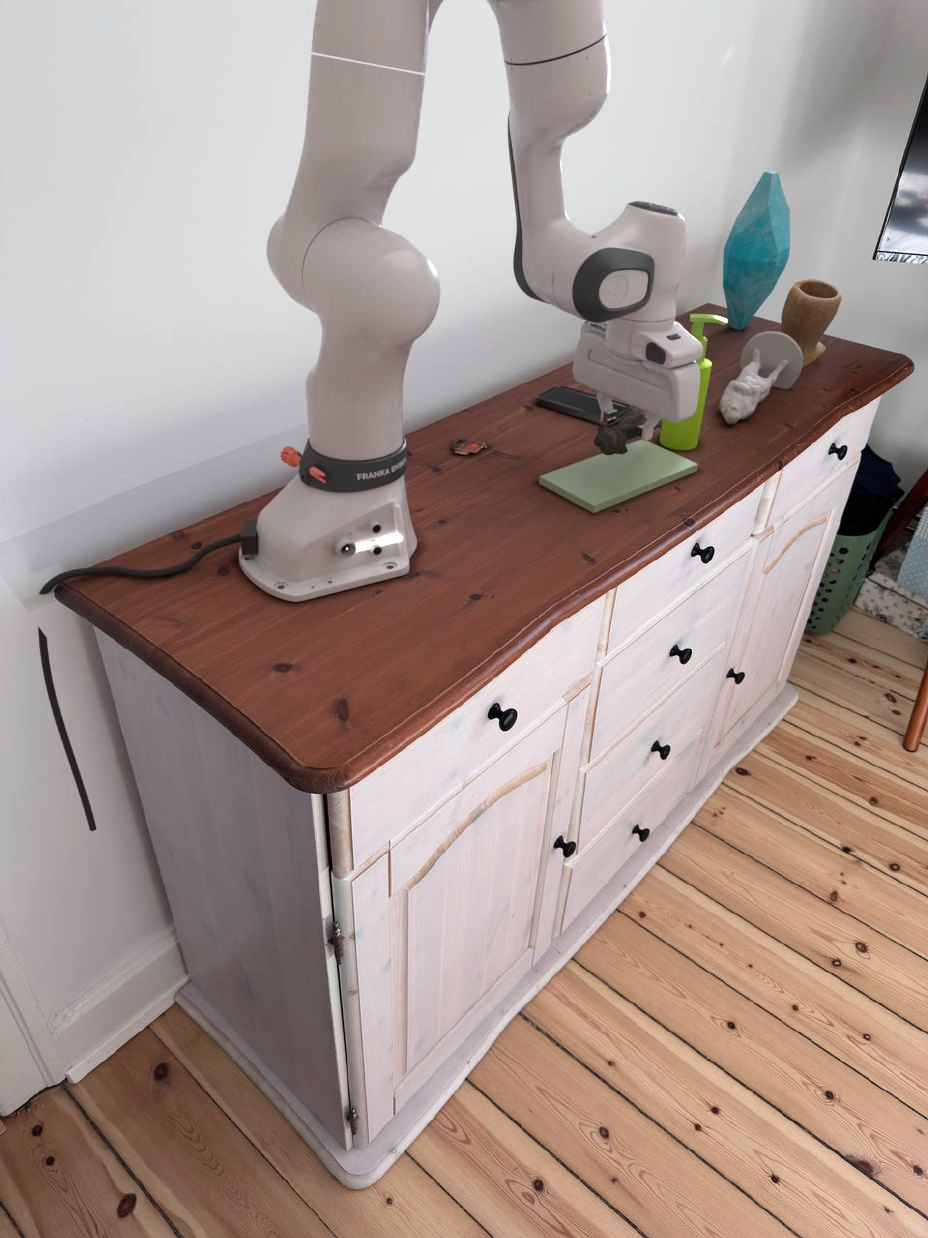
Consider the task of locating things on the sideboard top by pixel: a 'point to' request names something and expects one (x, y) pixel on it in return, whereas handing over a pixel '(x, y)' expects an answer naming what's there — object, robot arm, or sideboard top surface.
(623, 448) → the statue
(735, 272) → the crystal
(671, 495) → the sideboard top surface
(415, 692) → the sideboard top surface
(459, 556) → the sideboard top surface
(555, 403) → the phone
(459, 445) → the matchbox
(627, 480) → the board
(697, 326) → the soap dispenser
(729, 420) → the male figure
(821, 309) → the stone cup
